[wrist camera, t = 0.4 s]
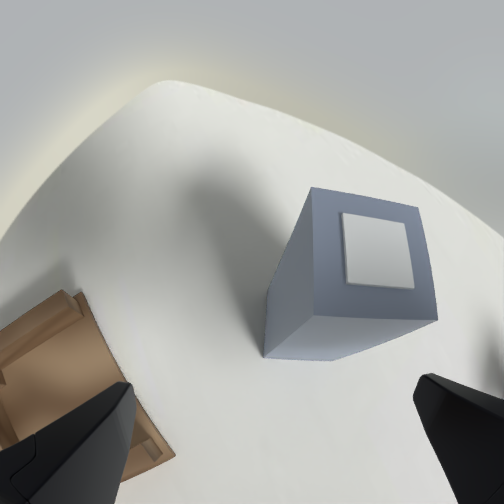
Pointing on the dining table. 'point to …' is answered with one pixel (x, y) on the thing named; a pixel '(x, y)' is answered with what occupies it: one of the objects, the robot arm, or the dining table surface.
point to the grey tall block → (348, 279)
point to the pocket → (64, 376)
